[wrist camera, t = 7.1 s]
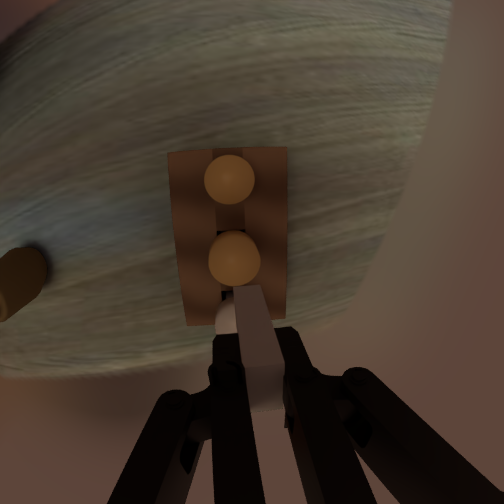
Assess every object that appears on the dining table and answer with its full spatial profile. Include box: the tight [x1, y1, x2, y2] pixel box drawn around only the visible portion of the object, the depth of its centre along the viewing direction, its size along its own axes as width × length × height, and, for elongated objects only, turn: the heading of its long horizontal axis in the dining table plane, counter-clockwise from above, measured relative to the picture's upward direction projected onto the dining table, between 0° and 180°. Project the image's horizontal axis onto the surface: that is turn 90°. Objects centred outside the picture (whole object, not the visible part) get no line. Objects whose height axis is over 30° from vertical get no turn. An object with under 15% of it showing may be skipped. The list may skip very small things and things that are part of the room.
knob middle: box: [208, 230, 261, 286], centre depth 29 cm, size 5×5×8 cm
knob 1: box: [204, 155, 255, 204], centre depth 29 cm, size 5×5×8 cm
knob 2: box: [215, 290, 237, 334], centre depth 31 cm, size 5×5×8 cm
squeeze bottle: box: [0, 247, 47, 322], centre depth 25 cm, size 8×8×18 cm
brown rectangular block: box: [168, 147, 287, 326], centre depth 33 cm, size 20×12×6 cm, turn 2°
